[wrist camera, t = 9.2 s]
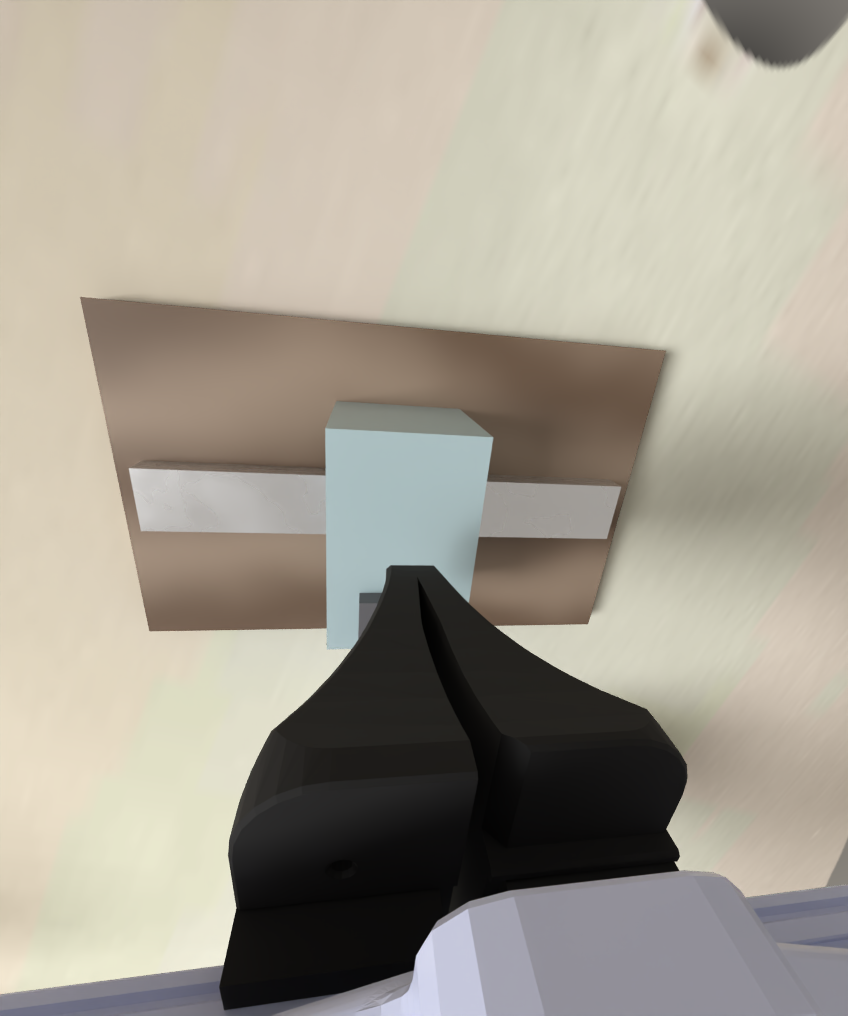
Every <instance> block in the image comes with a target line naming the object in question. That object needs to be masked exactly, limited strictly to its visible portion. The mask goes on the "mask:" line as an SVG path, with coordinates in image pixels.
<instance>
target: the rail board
mask: <svg viewBox="0 0 848 1016" xmlns="http://www.w3.org/2000/svg"><path fill="white" fill-rule="evenodd" d="M80 299H81V303H82V308H83V313H84V318H85V323H86V328H87V332H88V337H89V342H90V347H91V352H92V356H93V361H94V366H95V371H96V376H97V381H98V385H99V390H100V395H101V400H102V405H103V409H104V414H105V419H106V424H107V429H108V434H109V438H110V443H111V448H112V453H113V458H114V462H115V467H116V472H117V477H118V482H119V487H120V491H121V496H122V501H123V506H124V511H125V515H126V520H127V525H128V530H129V535H130V540H131V544H132V549H133V554H134V559H135V564H136V568H137V573H138V578H139V583H140V588H141V593H142V597H143V602H144V607H145V612H146V617H147V621H148V626H149V631H194V630H256V629H317V628H327V587H326V455H325V428H326V425H327V423H328V420H329V418H330V415H331V413H332V411H333V408H334V406H335V403H336V401H342V402H358V403H374V404H390V405H405V406H421V407H437V408H452V409H460V410H461V411H463V412H464V413H465V414H466V415H467V416H469V417H470V418H471V419H472V420H473V421H474V422H476V423H477V424H478V425H479V426H480V427H482V428H483V429H484V430H485V431H486V432H488V433H489V434H490V435H491V436H492V437H493V443H492V450H491V457H490V463H489V470H488V477H487V484H486V490H485V497H484V504H483V511H482V517H481V524H480V531H479V538H478V544H477V551H476V558H475V565H474V571H473V578H472V585H471V592H470V598H469V604H470V605H471V606H472V607H473V608H474V609H476V610H477V611H478V612H479V613H480V614H481V615H482V616H483V617H484V618H486V619H487V620H488V621H489V622H490V623H491V624H492V625H494V626H502V625H564V624H588V622H589V619H590V615H591V612H592V608H593V605H594V601H595V598H596V594H597V591H598V587H599V584H600V580H601V577H602V573H603V570H604V566H605V563H606V559H607V556H608V552H609V549H610V545H611V542H612V538H613V535H614V531H615V528H616V524H617V521H618V517H619V514H620V510H621V507H622V503H623V500H624V496H625V493H626V489H627V486H628V482H629V478H630V475H631V471H632V468H633V464H634V461H635V457H636V454H637V450H638V447H639V443H640V440H641V436H642V433H643V429H644V426H645V422H646V419H647V415H648V412H649V408H650V405H651V401H652V398H653V394H654V391H655V387H656V384H657V380H658V377H659V373H660V370H661V366H662V363H663V359H664V356H665V352H666V351H661V350H650V349H639V348H628V347H617V346H606V345H595V344H585V343H574V342H563V341H552V340H541V339H530V338H520V337H509V336H498V335H487V334H476V333H465V332H454V331H444V330H433V329H422V328H411V327H400V326H389V325H379V324H368V323H357V322H346V321H335V320H324V319H313V318H303V317H292V316H281V315H270V314H259V313H248V312H238V311H227V310H216V309H205V308H194V307H183V306H172V305H162V304H151V303H140V302H129V301H118V300H107V299H96V298H86V297H80Z"/></svg>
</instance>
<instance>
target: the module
mask: <svg viewBox="0 0 848 1016" xmlns="http://www.w3.org/2000/svg"><path fill="white" fill-rule="evenodd" d="M492 443H493V437H492V436H491V435H490V434H489V433H488V432H486V431H485V430H484V429H483V428H482V427H480V426H479V425H478V424H477V423H476V422H474V421H473V420H472V419H471V418H470V417H469V416H467V415H466V414H465V413H464V412H463V411H461V410H460V409H452V408H437V407H421V406H405V405H390V404H374V403H358V402H342V401H336V403H335V406H334V408H333V411H332V413H331V415H330V418H329V420H328V423H327V425H326V428H325V455H326V587H327V649H352V648H353V646H354V645H355V644H356V642H357V641H358V639H359V637H360V636H361V634H362V633H363V631H364V629H365V628H366V626H367V624H368V622H369V620H370V618H371V616H372V614H373V612H374V610H375V608H376V606H377V604H378V601H379V599H380V596H381V594H382V591H383V588H384V585H385V581H386V569H387V568H388V567H389V566H390V565H434V566H435V567H436V568H437V569H438V570H439V572H440V573H441V574H442V575H443V576H444V577H445V578H446V579H447V581H448V582H449V583H450V584H451V585H452V586H453V587H454V588H455V589H456V590H457V591H458V593H459V594H460V595H461V596H462V597H463V598H464V599H465V600H466V601H467V602H468V603H469V598H470V592H471V585H472V578H473V571H474V565H475V558H476V551H477V544H478V538H479V531H480V524H481V517H482V511H483V504H484V497H485V490H486V484H487V477H488V470H489V463H490V457H491V450H492Z"/></svg>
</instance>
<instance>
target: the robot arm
mask: <svg viewBox="0 0 848 1016" xmlns="http://www.w3.org/2000/svg"><path fill="white" fill-rule="evenodd" d="M686 782H687V764H686V762H685V761H684V759H683V757H682V755H681V754H680V752H679V751H678V749H677V748H676V747H675V745H674V744H673V743H672V741H671V740H670V739H669V737H668V736H667V735H666V733H665V732H664V731H663V729H662V728H661V727H660V725H659V724H658V723H657V721H656V720H655V719H654V717H653V716H652V715H651V714H650V713H649V711H648V710H647V709H645V708H642V707H640V706H638V705H635V704H633V703H630V702H628V701H625V700H623V699H621V698H618V697H616V696H613V695H611V694H608V693H606V692H604V691H601V690H599V689H597V688H595V687H593V686H591V685H589V684H587V683H585V682H582V681H580V680H578V679H576V678H574V677H572V676H570V675H569V674H567V673H565V672H563V671H561V670H559V669H557V668H556V667H554V666H552V665H550V664H549V663H547V662H546V661H544V660H542V659H541V658H539V657H537V656H536V655H534V654H532V653H531V652H529V651H528V650H526V649H525V648H523V647H522V646H520V645H519V644H517V643H516V642H515V641H513V640H512V639H511V638H509V637H508V636H507V635H505V634H504V633H502V632H501V631H500V630H499V629H497V628H496V627H495V626H494V625H492V624H491V623H490V622H489V621H488V620H487V619H486V618H484V617H483V616H482V615H481V614H480V613H479V612H478V611H477V610H476V609H474V608H473V607H472V606H471V605H470V604H469V603H468V602H467V601H466V600H465V599H464V598H463V597H462V596H461V595H460V594H459V593H458V591H457V590H456V589H455V588H454V587H453V586H452V585H451V584H450V583H449V582H448V581H447V579H446V578H445V577H444V576H443V575H442V574H441V573H440V572H439V570H438V569H437V568H436V567H435V566H434V565H390V566H389V567H388V568H387V569H386V581H385V585H384V588H383V591H382V594H381V596H380V599H379V601H378V604H377V606H376V608H375V610H374V612H373V614H372V616H371V618H370V620H369V622H368V624H367V626H366V628H365V629H364V631H363V633H362V634H361V636H360V637H359V639H358V641H357V642H356V644H355V645H354V646H353V648H352V649H351V651H350V652H349V653H348V655H347V656H346V657H345V659H344V660H343V661H342V663H341V664H340V665H339V666H338V668H337V669H336V670H335V671H334V672H333V674H332V675H331V676H330V677H329V678H328V679H327V680H326V681H325V682H324V683H323V684H322V685H321V686H320V687H319V688H318V690H317V691H316V692H315V693H314V694H313V695H312V696H311V697H310V698H309V699H308V700H307V701H306V702H305V703H304V704H303V705H301V706H300V707H299V708H298V709H297V710H296V711H294V712H293V713H292V714H291V715H290V716H289V717H287V718H286V719H285V720H284V721H283V722H282V723H280V724H279V725H278V726H277V727H276V728H275V729H273V730H272V731H271V733H270V735H269V736H268V738H267V740H266V742H265V744H264V746H263V748H262V750H261V752H260V754H259V756H258V758H257V760H256V762H255V764H254V766H253V768H252V771H251V773H250V775H249V778H248V780H247V783H246V785H245V788H244V791H243V793H242V796H241V799H240V802H239V805H238V809H237V813H236V816H235V820H234V824H233V828H232V831H231V835H230V839H229V852H228V857H229V864H230V870H231V876H232V883H233V889H234V895H235V901H236V908H237V909H236V913H235V918H234V922H233V927H232V931H231V936H230V940H229V945H228V949H227V953H226V958H225V962H224V965H223V966H215V967H207V968H200V969H192V970H184V971H176V972H169V973H161V974H153V975H146V976H138V977H130V978H123V979H115V980H107V981H99V982H92V983H84V984H76V985H69V986H61V987H53V988H46V989H38V990H30V991H23V992H15V993H7V994H0V1016H848V884H846V885H838V886H831V887H823V888H815V889H807V890H800V891H792V892H784V893H777V894H769V895H761V896H754V897H746V898H745V896H744V895H743V893H742V892H741V891H740V890H739V889H738V888H737V887H736V886H735V885H734V884H733V883H731V882H730V881H729V880H728V879H727V878H726V877H723V876H721V875H719V874H716V873H714V872H700V871H685V870H684V871H679V869H678V867H677V866H676V864H675V861H678V859H679V857H680V855H679V850H678V848H677V846H676V845H675V843H674V841H673V840H672V838H671V837H670V835H669V833H668V832H667V830H666V828H667V826H668V824H669V822H670V820H671V818H672V816H673V814H674V812H675V810H676V808H677V805H678V803H679V801H680V799H681V797H682V795H683V792H684V789H685V785H686Z"/></svg>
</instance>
